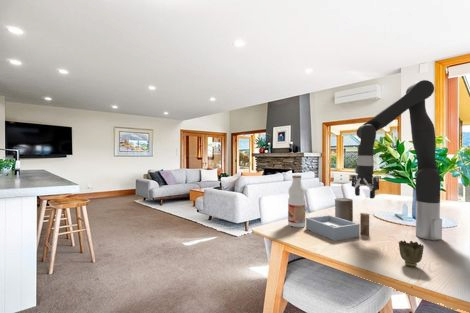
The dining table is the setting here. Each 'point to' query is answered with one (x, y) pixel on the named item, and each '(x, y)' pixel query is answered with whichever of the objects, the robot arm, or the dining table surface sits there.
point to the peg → (364, 223)
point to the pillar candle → (344, 209)
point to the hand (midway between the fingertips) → (364, 196)
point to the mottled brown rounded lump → (411, 252)
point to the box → (333, 227)
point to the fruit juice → (296, 203)
